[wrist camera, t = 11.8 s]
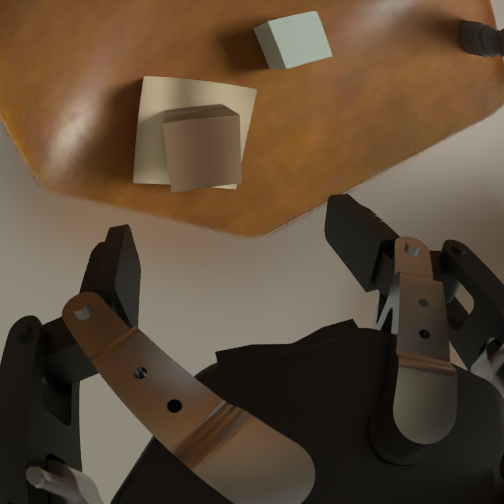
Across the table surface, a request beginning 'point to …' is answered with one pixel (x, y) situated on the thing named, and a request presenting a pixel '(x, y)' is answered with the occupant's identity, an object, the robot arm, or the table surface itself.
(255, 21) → the table surface
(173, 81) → the oak block
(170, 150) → the walnut block
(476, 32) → the candle holder
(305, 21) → the grey cube
